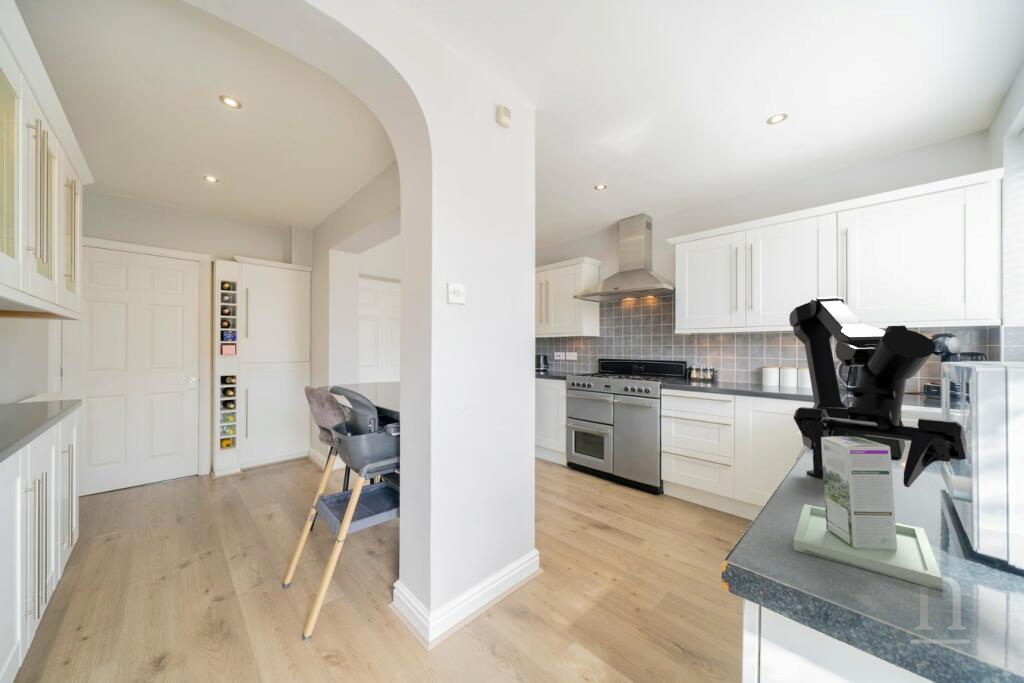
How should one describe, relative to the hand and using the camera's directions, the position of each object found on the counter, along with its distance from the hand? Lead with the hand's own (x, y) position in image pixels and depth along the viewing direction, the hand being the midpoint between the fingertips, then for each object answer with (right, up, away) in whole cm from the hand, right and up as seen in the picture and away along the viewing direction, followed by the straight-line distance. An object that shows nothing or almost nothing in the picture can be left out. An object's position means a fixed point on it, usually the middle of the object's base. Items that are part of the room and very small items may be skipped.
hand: (861, 476), depth 55 cm
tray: (-1, -10, -1) cm, 10 cm away
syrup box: (-1, -9, -1) cm, 9 cm away
